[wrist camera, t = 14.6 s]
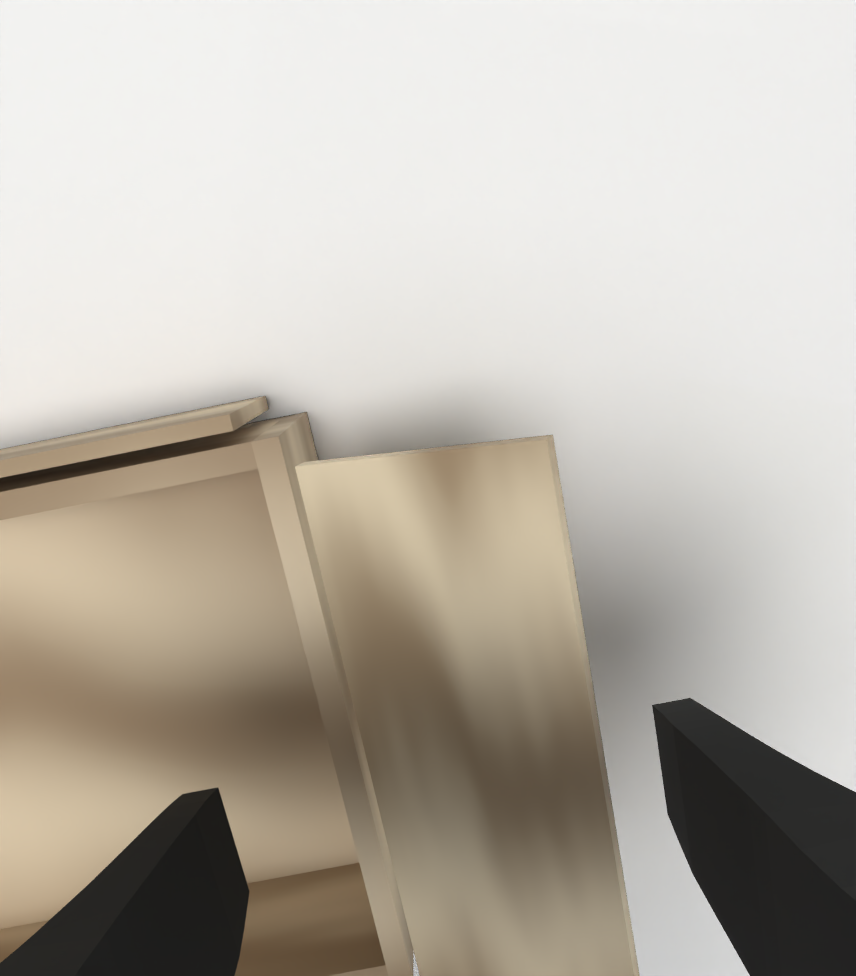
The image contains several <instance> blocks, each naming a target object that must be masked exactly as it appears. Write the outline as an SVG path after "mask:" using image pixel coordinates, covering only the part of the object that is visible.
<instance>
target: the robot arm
mask: <svg viewBox="0 0 856 976" xmlns="http://www.w3.org/2000/svg"><path fill="white" fill-rule="evenodd" d="M652 706H653V713H654V720H655V727H656V734H657V741H658V749H659V756H660V763H661V770H662V777H663V784H664V791H665V798H666V805H667V813H668V816H669V818H670V821H671V823H672V826H673V828H674V831H675V833H676V835H677V838H678V840H679V843H680V845H681V848H682V850H683V852H684V854H685V857H686V859H687V861H688V864H689V866H690V868H691V871H692V873H693V875H694V877H695V879H696V880H697V882H698V884H699V886H700V888H701V890H702V891H703V893H704V895H705V897H706V898H707V900H708V902H709V904H710V906H711V907H712V909H713V911H714V913H715V915H716V916H717V918H718V920H719V922H720V923H721V925H722V927H723V929H724V931H725V932H726V934H727V936H728V938H729V939H730V941H731V943H732V945H733V946H734V948H735V950H736V952H737V953H738V955H739V957H740V959H741V961H742V962H743V964H744V966H745V968H746V969H747V971H748V973H749V975H750V976H856V792H854V791H852V790H850V789H848V788H846V787H844V786H842V785H840V784H838V783H836V782H834V781H832V780H830V779H828V778H826V777H824V776H822V775H820V774H818V773H816V772H814V771H812V770H811V769H809V768H807V767H805V766H803V765H801V764H800V763H798V762H796V761H794V760H792V759H790V758H789V757H787V756H785V755H783V754H782V753H780V752H778V751H776V750H775V749H773V748H771V747H770V746H768V745H766V744H764V743H763V742H761V741H759V740H758V739H756V738H754V737H753V736H751V735H749V734H748V733H746V732H744V731H743V730H741V729H740V728H738V727H736V726H735V725H733V724H731V723H730V722H728V721H727V720H725V719H723V718H722V717H720V716H719V715H717V714H715V713H714V712H712V711H711V710H709V709H707V708H706V707H704V706H703V705H701V704H699V703H698V702H696V701H694V700H692V699H691V698H688V699H682V700H677V701H672V702H666V703H661V704H656V705H652ZM249 892H250V891H249V888H248V885H247V881H246V878H245V875H244V871H243V868H242V865H241V861H240V858H239V855H238V851H237V848H236V845H235V841H234V838H233V835H232V831H231V828H230V825H229V822H228V818H227V815H226V812H225V808H224V805H223V802H222V798H221V795H220V792H219V788H218V787H217V788H212V789H206V790H201V791H196V792H191V793H185V794H182V795H181V796H179V797H178V798H177V799H176V800H175V801H173V802H172V803H171V804H170V805H169V806H168V807H167V808H166V809H165V810H164V811H163V812H162V813H160V814H159V815H158V816H157V817H156V818H155V819H154V820H153V821H152V822H151V823H150V824H149V825H148V826H147V827H146V828H145V829H144V830H143V831H142V832H141V833H140V834H139V835H138V836H137V837H136V838H135V839H134V840H133V841H132V842H131V843H130V844H129V845H128V846H127V847H126V848H125V849H124V850H123V851H122V852H121V853H120V854H119V855H118V856H117V857H116V858H115V859H114V860H113V861H112V862H111V863H110V864H109V865H108V866H107V867H106V868H105V869H103V870H102V871H101V872H100V873H99V874H98V875H97V876H96V877H95V878H94V879H93V880H92V881H91V882H90V883H89V884H88V885H87V886H86V887H85V888H84V889H83V890H82V891H81V892H79V893H78V894H77V895H76V896H75V897H74V898H73V899H72V900H71V901H70V902H69V903H67V904H66V905H65V906H64V907H63V908H62V909H61V910H60V911H59V912H58V913H57V914H55V915H54V916H53V917H52V918H51V919H50V920H49V921H48V922H47V923H46V924H45V925H43V926H42V927H41V928H40V929H39V930H38V931H37V932H36V933H35V934H34V935H32V936H31V937H30V938H29V939H28V940H27V941H26V942H24V943H23V944H22V945H21V946H20V947H19V948H17V949H16V950H15V951H14V952H13V953H11V954H10V955H9V956H8V957H7V958H5V959H4V960H3V961H2V962H1V963H0V976H235V972H236V968H237V964H238V961H239V957H240V951H241V945H242V939H243V933H244V928H245V920H246V913H247V906H248V899H249Z"/></svg>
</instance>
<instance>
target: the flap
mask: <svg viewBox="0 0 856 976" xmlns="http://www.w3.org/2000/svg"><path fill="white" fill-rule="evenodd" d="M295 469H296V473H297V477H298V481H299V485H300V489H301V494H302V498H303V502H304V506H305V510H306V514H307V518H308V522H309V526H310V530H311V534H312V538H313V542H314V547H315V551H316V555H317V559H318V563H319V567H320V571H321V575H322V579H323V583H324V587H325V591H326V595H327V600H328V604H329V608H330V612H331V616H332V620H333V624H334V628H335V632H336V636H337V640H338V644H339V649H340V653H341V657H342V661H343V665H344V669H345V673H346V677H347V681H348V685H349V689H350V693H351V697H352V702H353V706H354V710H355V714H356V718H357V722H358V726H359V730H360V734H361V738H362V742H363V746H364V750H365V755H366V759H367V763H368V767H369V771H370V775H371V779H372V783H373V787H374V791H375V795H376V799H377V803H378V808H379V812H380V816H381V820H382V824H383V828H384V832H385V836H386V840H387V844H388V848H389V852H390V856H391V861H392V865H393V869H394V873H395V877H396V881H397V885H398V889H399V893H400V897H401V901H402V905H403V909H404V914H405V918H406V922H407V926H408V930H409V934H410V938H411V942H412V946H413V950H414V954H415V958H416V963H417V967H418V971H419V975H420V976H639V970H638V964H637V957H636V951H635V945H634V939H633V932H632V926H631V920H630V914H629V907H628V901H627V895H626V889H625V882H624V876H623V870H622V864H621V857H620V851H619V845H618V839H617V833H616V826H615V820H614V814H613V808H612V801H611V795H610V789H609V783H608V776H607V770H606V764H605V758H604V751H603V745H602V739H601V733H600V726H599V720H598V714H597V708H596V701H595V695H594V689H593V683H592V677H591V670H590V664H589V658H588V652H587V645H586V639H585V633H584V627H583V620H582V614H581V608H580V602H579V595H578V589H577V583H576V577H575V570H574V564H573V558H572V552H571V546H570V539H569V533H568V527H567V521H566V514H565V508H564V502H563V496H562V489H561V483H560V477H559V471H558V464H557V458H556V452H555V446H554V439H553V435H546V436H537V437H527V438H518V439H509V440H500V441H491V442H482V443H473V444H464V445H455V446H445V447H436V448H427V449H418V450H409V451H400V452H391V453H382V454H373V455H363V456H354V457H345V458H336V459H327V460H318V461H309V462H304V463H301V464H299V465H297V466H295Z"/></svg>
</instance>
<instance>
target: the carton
mask: <svg viewBox="0 0 856 976" xmlns="http://www.w3.org/2000/svg"><path fill="white" fill-rule="evenodd" d="M267 410H268V405H267V401H266V397H265V396H262V397H257V398H252V399H247V400H242V401H237V402H232V403H227V404H222V405H217V406H212V407H208V408H203V409H198V410H193V411H188V412H183V413H178V414H173V415H168V416H163V417H158V418H153V419H148V420H143V421H138V422H133V423H128V424H123V425H118V426H113V427H109V428H104V429H99V430H94V431H89V432H84V433H79V434H74V435H69V436H64V437H59V438H54V439H49V440H44V441H39V442H34V443H29V444H24V445H19V446H15V447H10V448H5V449H0V963H1V962H2V961H3V960H4V959H5V958H7V957H8V956H9V955H10V954H11V953H13V952H14V951H15V950H16V949H17V948H19V947H20V946H21V945H22V944H23V943H24V942H26V941H27V940H28V939H29V938H30V937H31V936H32V935H34V934H35V933H36V932H37V931H38V930H39V929H40V928H41V927H42V926H43V925H45V924H46V923H47V922H48V921H49V920H50V919H51V918H52V917H53V916H54V915H55V914H57V913H58V912H59V911H60V910H61V909H62V908H63V907H64V906H65V905H66V904H67V903H69V902H70V901H71V900H72V899H73V898H74V897H75V896H76V895H77V894H78V893H79V892H81V891H82V890H83V889H84V888H85V887H86V886H87V885H88V884H89V883H90V882H91V881H92V880H93V879H94V878H95V877H96V876H97V875H98V874H99V873H100V872H101V871H102V870H103V869H105V868H106V867H107V866H108V865H109V864H110V863H111V862H112V861H113V860H114V859H115V858H116V857H117V856H118V855H119V854H120V853H121V852H122V851H123V850H124V849H125V848H126V847H127V846H128V845H129V844H130V843H131V842H132V841H133V840H134V839H135V838H136V837H137V836H138V835H139V834H140V833H141V832H142V831H143V830H144V829H145V828H146V827H147V826H148V825H149V824H150V823H151V822H152V821H153V820H154V819H155V818H156V817H157V816H158V815H159V814H160V813H162V812H163V811H164V810H165V809H166V808H167V807H168V806H169V805H170V804H171V803H172V802H173V801H175V800H176V799H177V798H178V797H179V796H181V795H182V794H185V793H191V792H196V791H201V790H206V789H212V788H217V787H218V788H219V792H220V795H221V798H222V802H223V805H224V808H225V812H226V815H227V818H228V822H229V825H230V828H231V831H232V835H233V838H234V841H235V845H236V848H237V851H238V855H239V858H240V861H241V865H242V868H243V871H244V875H245V878H246V881H247V885H248V888H249V891H250V892H249V899H248V906H247V913H246V920H245V928H244V933H243V939H242V945H241V951H240V957H239V961H238V964H237V968H236V972H235V976H413V946H412V942H411V938H410V934H409V930H408V926H407V922H406V918H405V914H404V909H403V905H402V901H401V897H400V893H399V889H398V885H397V881H396V877H395V873H394V869H393V865H392V861H391V856H390V852H389V848H388V844H387V840H386V836H385V832H384V828H383V824H382V820H381V816H380V812H379V808H378V803H377V799H376V795H375V791H374V787H373V783H372V779H371V775H370V771H369V767H368V763H367V759H366V755H365V750H364V746H363V742H362V738H361V734H360V730H359V726H358V722H357V718H356V714H355V710H354V706H353V702H352V697H351V693H350V689H349V685H348V681H347V677H346V673H345V669H344V665H343V661H342V657H341V653H340V649H339V644H338V640H337V636H336V632H335V628H334V624H333V620H332V616H331V612H330V608H329V604H328V600H327V595H326V591H325V587H324V583H323V579H322V575H321V571H320V567H319V563H318V559H317V555H316V551H315V547H314V542H313V538H312V534H311V530H310V526H309V522H308V518H307V514H306V510H305V506H304V502H303V498H302V494H301V489H300V485H299V481H298V477H297V473H296V469H295V466H297V465H299V464H301V463H304V462H309V461H318V458H317V454H316V449H315V445H314V441H313V437H312V433H311V428H310V424H309V420H308V416H307V412H304V413H299V414H294V415H289V416H284V417H279V418H274V419H269V420H264V421H259V422H254V423H249V424H246V423H247V422H249V421H250V420H252V419H254V418H255V417H257V416H259V415H260V414H262V413H263V412H265V411H267Z"/></svg>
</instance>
